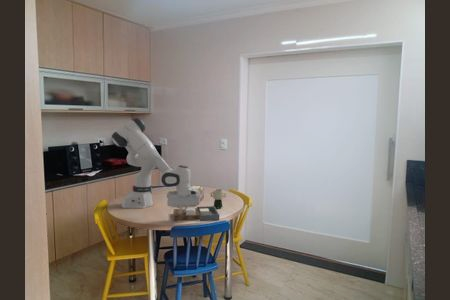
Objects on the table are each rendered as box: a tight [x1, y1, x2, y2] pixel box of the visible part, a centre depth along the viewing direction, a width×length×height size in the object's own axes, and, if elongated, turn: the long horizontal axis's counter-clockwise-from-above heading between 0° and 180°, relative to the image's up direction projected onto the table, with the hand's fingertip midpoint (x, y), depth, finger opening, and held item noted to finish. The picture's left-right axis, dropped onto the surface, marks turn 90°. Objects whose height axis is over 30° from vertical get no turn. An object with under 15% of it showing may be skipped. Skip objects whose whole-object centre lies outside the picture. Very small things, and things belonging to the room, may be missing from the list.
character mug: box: [210, 188, 227, 209], centre depth 223 cm, size 11×7×13 cm, turn 92°
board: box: [173, 207, 200, 222], centre depth 202 cm, size 16×15×3 cm
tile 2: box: [185, 207, 196, 215], centre depth 199 cm, size 6×6×2 cm
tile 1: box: [199, 208, 209, 215], centre depth 208 cm, size 6×6×2 cm
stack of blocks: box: [191, 185, 205, 207], centre depth 237 cm, size 21×6×12 cm, turn 169°
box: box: [196, 205, 220, 222], centre depth 205 cm, size 12×19×3 cm, turn 12°
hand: (183, 212), depth 198 cm, fingers closed
